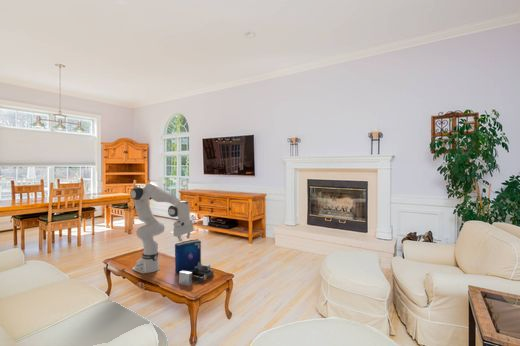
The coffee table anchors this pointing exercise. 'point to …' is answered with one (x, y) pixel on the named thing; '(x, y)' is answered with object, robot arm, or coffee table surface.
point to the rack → (202, 273)
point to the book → (187, 255)
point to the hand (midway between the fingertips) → (184, 239)
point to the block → (185, 278)
